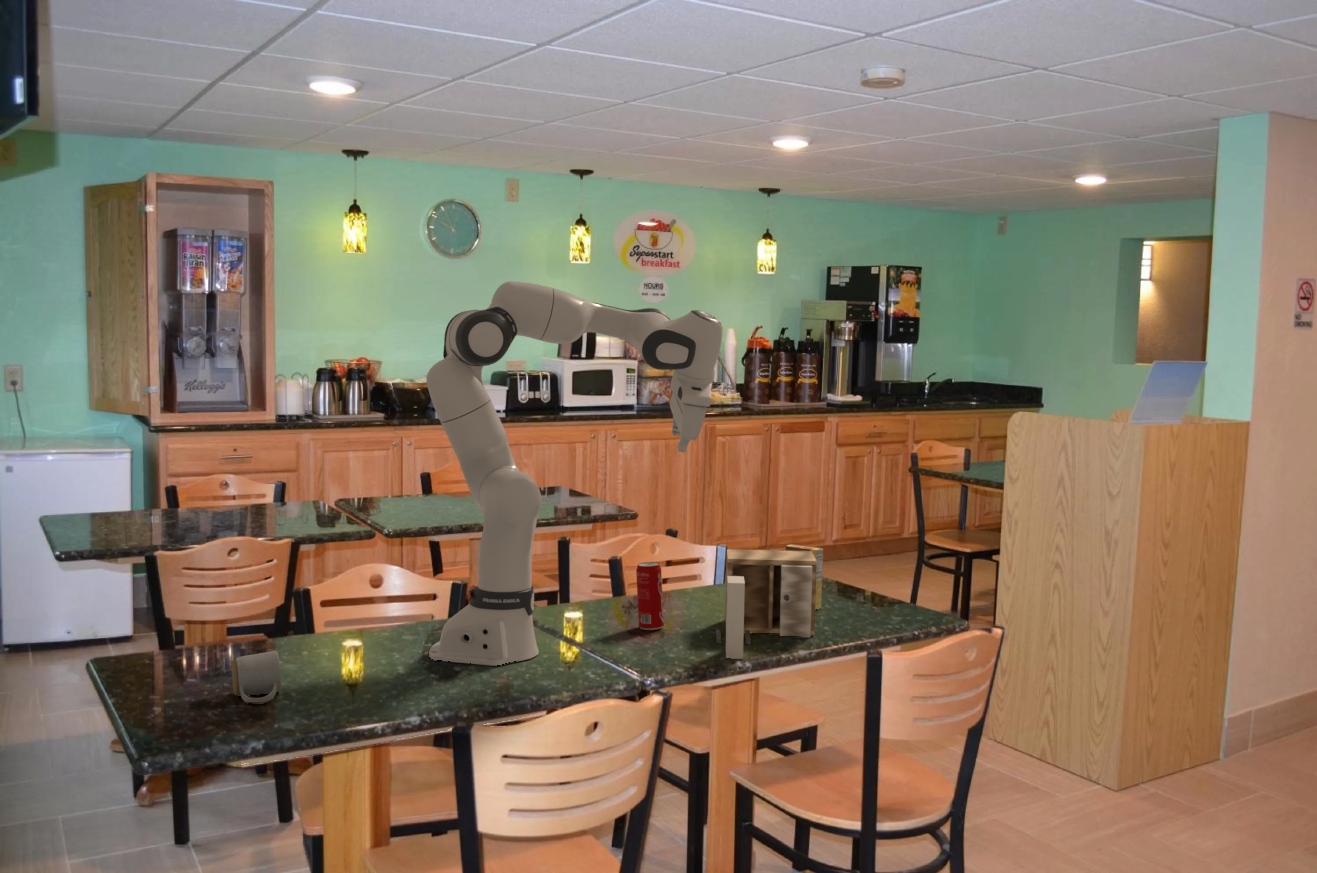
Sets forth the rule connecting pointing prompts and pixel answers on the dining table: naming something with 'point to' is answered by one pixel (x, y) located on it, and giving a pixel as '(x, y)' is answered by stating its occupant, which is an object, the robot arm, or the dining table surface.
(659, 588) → the beverage can
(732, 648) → the door
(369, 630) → the dining table surface
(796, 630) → the cabinet
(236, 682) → the ceramic mug
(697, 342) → the robot arm
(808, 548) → the candy box
